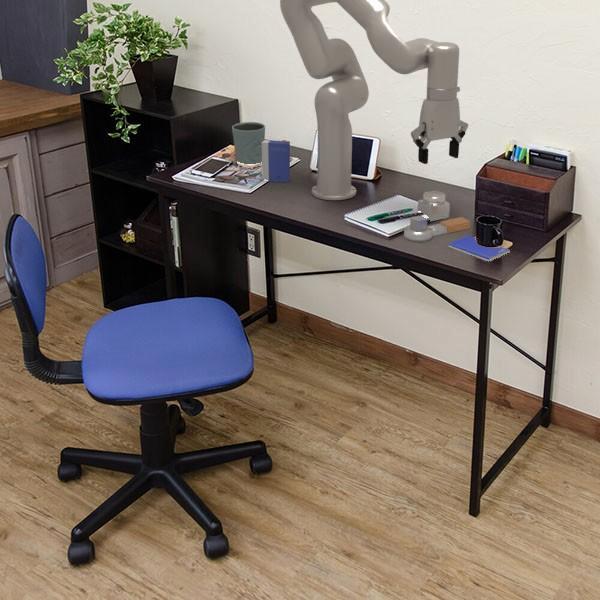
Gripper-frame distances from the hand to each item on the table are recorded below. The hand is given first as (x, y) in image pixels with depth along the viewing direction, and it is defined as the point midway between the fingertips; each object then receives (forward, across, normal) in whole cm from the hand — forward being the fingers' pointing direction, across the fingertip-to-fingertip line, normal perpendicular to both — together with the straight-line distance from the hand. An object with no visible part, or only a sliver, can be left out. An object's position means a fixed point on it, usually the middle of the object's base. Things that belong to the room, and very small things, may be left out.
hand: (438, 159), depth 239 cm
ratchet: (+16, +7, +9) cm, 19 cm away
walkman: (+15, +23, -47) cm, 54 cm away
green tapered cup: (+14, +23, -65) cm, 70 cm away
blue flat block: (+17, +4, +23) cm, 29 cm away
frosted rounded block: (+16, 0, -1) cm, 16 cm away
